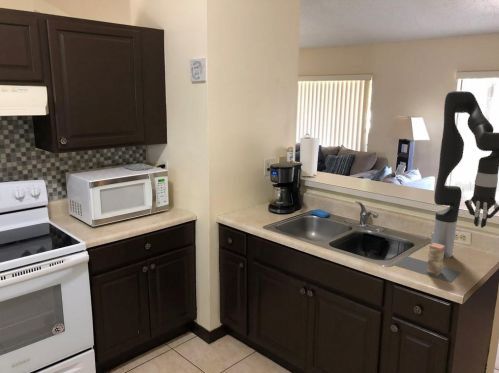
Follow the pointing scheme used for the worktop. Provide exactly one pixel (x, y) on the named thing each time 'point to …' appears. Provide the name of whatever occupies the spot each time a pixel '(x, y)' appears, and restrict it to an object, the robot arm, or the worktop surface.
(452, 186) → the robot arm
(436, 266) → the birch block
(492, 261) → the worktop surface
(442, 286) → the worktop surface
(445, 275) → the rubber mat
